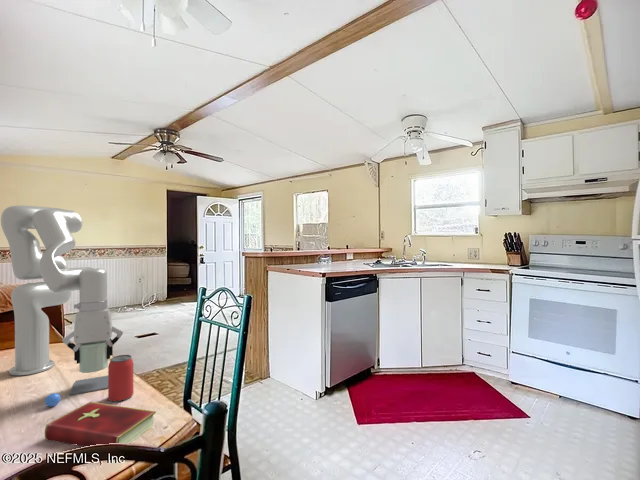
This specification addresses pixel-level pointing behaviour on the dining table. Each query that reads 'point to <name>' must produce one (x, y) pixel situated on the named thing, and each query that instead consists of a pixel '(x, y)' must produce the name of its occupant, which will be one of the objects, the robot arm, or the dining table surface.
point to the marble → (52, 399)
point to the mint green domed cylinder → (93, 357)
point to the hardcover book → (99, 425)
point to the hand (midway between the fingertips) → (94, 359)
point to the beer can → (120, 378)
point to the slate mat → (90, 385)
